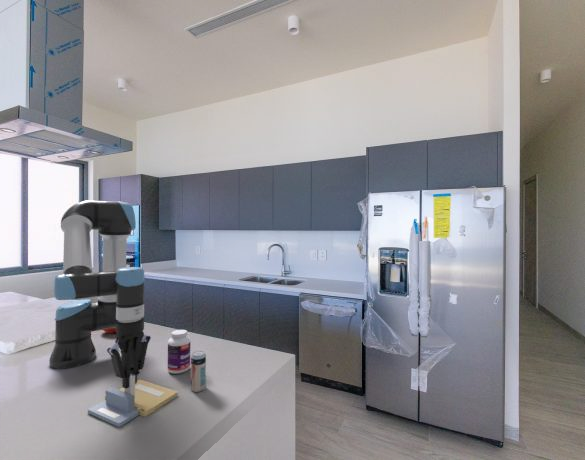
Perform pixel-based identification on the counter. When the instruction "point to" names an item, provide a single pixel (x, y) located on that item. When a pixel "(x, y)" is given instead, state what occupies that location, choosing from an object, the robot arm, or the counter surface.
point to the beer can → (198, 371)
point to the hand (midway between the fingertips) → (129, 396)
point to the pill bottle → (178, 352)
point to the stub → (115, 407)
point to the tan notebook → (150, 397)
